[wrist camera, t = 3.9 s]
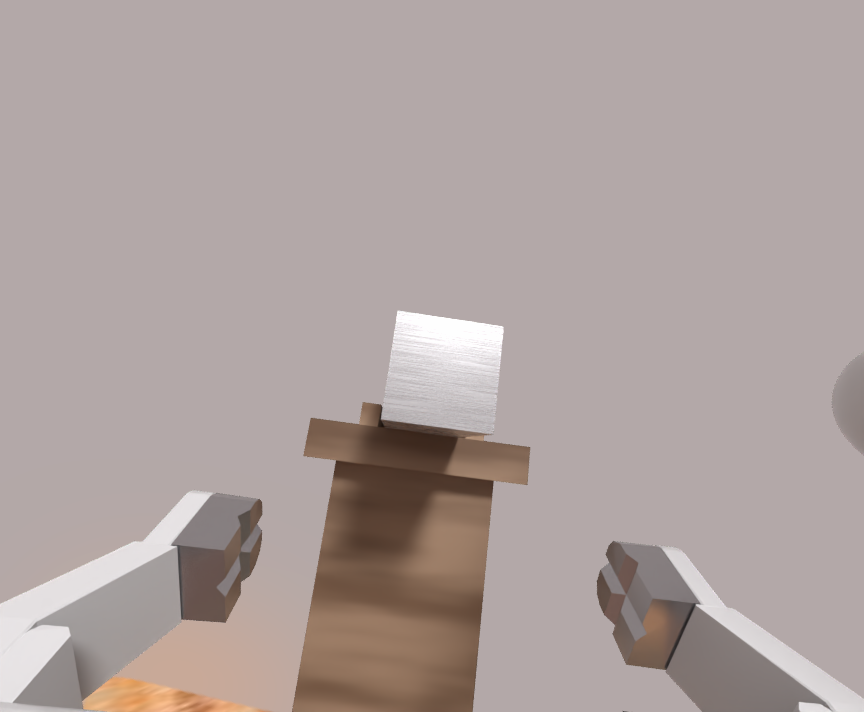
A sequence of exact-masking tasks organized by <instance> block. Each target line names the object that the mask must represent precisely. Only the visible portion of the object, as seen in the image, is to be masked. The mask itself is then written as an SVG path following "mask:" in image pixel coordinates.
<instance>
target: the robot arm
mask: <svg viewBox="0 0 864 712" xmlns="http://www.w3.org/2000/svg"><path fill="white" fill-rule="evenodd" d="M832 408H833V414H834V417H835V420H836V422H837V425H838V427H839V428H840V430H841V432H842V433H843V435H844V436H845V437H846V439H847V440H848V441H849V442H850V443H851V444H852V445H853V446H854V447H855V448H856V449H857V450H858V451H859V452H860V453H862V454H863V455H864V352H863V353H862V354H860V355H859V356H857V357H856V358H855V359H854V360H853V361H851V362H850V363H849V364H848V365H847V366H846V368H845V369H844V370H843V371H842V373H841V375H840V376H839V377H838V379H837V381H836V384H835V387H834V390H833V395H832ZM261 516H262V502H261V500H260V499H255V498H248V497H241V496H234V495H227V494H220V493H210V492H203V491H195V490H193V491H191V492H188V493H187V494H186V495H185V496H184V497H183V498H182V499H181V500H180V501H179V503H178V504H177V505H176V506H175V507H174V508H173V509H172V510H171V511H170V512H169V513H168V514H167V515H166V516H165V518H164V519H163V520H162V521H161V522H160V523H159V524H158V525H157V526H156V528H154V530H153V531H152V532H151V533H150V534H149V535H148V536H147V537H146V538H145V539H144V541H142V542H132V543H130V544H128V545H126V546H124V547H121V548H120V549H117V550H115V551H113V552H111V553H109V554H107V555H104V556H102V557H100V558H98V559H96V560H94V561H91V562H89V563H87V564H85V565H83V566H81V567H79V568H76V569H74V570H72V571H70V572H68V573H66V574H64V575H61V576H59V577H57V578H55V579H53V580H51V581H48V582H46V583H44V584H42V585H40V586H38V587H36V588H33V589H31V590H29V591H27V592H25V593H23V594H21V595H18V596H16V597H14V598H12V599H10V600H8V601H6V602H4V603H1V604H0V712H105V711H94V710H84V709H83V704H82V701H83V700H84V699H85V698H86V697H88V696H89V695H90V694H91V693H93V692H94V691H95V690H97V689H98V688H99V687H100V686H102V685H103V684H104V683H105V682H107V681H108V680H109V679H110V678H112V677H113V676H114V675H115V674H117V673H118V672H119V671H120V670H122V669H123V668H124V667H125V666H127V665H128V664H129V663H131V662H132V661H133V660H134V659H135V658H137V657H138V656H139V655H140V654H142V653H143V652H144V651H146V650H147V649H148V648H149V647H151V646H152V645H153V644H154V643H156V642H157V641H158V640H159V639H161V638H162V637H163V636H165V635H166V634H167V633H168V632H170V631H171V630H172V629H173V628H175V627H176V626H177V625H179V624H180V623H181V619H183V620H196V621H210V622H224V623H225V622H226V621H227V619H228V617H229V614H230V613H231V611H232V609H233V607H234V605H235V603H236V602H237V600H238V598H239V596H240V593H241V581H243V580H245V579H246V578H247V577H249V576H250V575H251V572H252V570H253V568H254V566H255V564H256V561H257V558H258V555H259V552H260V547H261V541H262V530H261V529H260V527H259V526H258V525H257V523H258V521H259V519H260V517H261ZM606 556H607V558H608V560H609V564H608V565H606V566H605V567H603V568H602V569H601V570H600V573H599V577H598V580H597V595H598V599H599V604H600V606H601V609H602V611H603V613H604V615H605V616H606V617H607V618H608V619H609V620H610V621H611V622H612V623H613V624H614V625H615V627H614V631H613V636H614V638H615V641H616V643H617V645H618V647H619V649H620V652H621V654H622V656H623V658H624V661H625V663H626V664H627V665H633V666H641V667H648V668H656V669H663V670H666V673H667V674H668V675H669V676H670V677H671V678H672V679H673V681H674V682H676V684H677V685H678V686H679V687H680V688H681V689H682V690H683V691H684V692H685V693H686V694H687V696H688V697H689V698H690V699H691V700H692V701H693V702H694V703H695V704H696V705H697V706H698V708H699V709H700V710H701V711H702V712H864V699H863V698H862V697H860V696H859V695H857V694H856V693H855V692H853V691H852V690H850V689H849V688H847V687H846V686H844V685H843V684H842V683H840V682H839V681H837V680H836V679H834V678H833V677H831V676H830V675H829V674H827V673H826V672H824V671H823V670H821V669H820V668H818V667H817V666H816V665H814V664H813V663H811V662H810V661H808V660H807V659H805V658H804V657H803V656H801V655H800V654H798V653H797V652H795V651H794V650H792V649H791V648H790V647H788V646H787V645H785V644H784V643H782V642H781V641H779V640H778V639H776V638H775V637H774V636H772V635H771V634H769V633H768V632H766V631H765V630H764V629H762V628H761V627H759V626H758V625H756V624H755V623H753V622H752V621H751V620H749V619H748V618H746V617H745V616H743V615H742V614H741V613H739V612H738V611H736V610H735V609H731V608H726V606H725V605H724V604H723V602H722V601H721V600H720V599H719V597H718V596H717V595H716V593H715V592H714V591H713V590H712V588H711V587H710V586H709V585H708V583H707V582H706V581H705V579H704V578H703V577H702V575H701V574H700V573H699V572H698V570H697V569H696V568H695V566H694V565H693V564H692V563H691V561H690V560H689V559H688V557H687V556H686V555H685V554H684V552H683V551H681V550H680V549H678V548H676V547H668V546H657V545H655V546H652V545H643V544H634V543H624V542H615V541H613V542H612V543H611V544H610V545H609V547H608V549H607V552H606Z"/></svg>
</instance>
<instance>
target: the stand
mask: <svg viewBox="0 0 864 712" xmlns="http://www.w3.org/2000/svg"><path fill="white" fill-rule="evenodd" d="M382 409H383V407H382V406H381V405H379V404H372V403H365V402H363V405H362V411H361V417H360V423H359V424H353V423H345V422H338V421H330V420H323V419H315V418H311V420H310V425H309V430H308V435H307V440H306V446H305V451H304V456H307V457H315V458H323V459H330V460H336V464H335V471H334V476H333V481H332V487H331V493H330V499H329V504H328V510H327V516H326V521H325V527H324V533H323V538H322V544H321V550H320V556H319V561H318V567H317V573H316V579H315V584H314V590H313V595H312V601H311V607H310V612H309V618H308V624H307V630H306V635H305V642H304V647H303V652H302V658H301V664H300V669H299V675H298V682H297V687H296V692H295V698H294V705H293V709H292V712H472V711H473V700H474V689H475V678H476V666H477V656H478V645H479V634H480V624H481V613H482V602H483V591H484V580H485V569H486V558H487V547H488V536H489V525H490V515H491V503H492V492H493V481H501V482H508V483H516V484H524V485H527V482H528V468H529V455H530V447H524V446H516V445H510V444H502V443H495V442H487V441H484V435H483V436H471V437H460V438H457V437H450V436H442V435H435V434H427V433H420V432H413V431H405V430H398V429H390V428H385V426H384V424H383V422H382V420H381V415H382Z"/></svg>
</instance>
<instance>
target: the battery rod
mask: <svg viewBox="0 0 864 712" xmlns="http://www.w3.org/2000/svg"><path fill="white" fill-rule="evenodd" d="M502 339H503V327H501V326H495V325H488V324H481V323H475V322H469V321H462V320H455V319H449V318H442V317H436V316H429V315H422V314H416V313H410V312H403V311H398V313H397V319H396V325H395V332H394V339H393V344H392V351H391V357H390V364H389V371H388V377H387V383H386V389H385V396H384V402H383V409H382V415H381V420H382V422H383V424H384V426H385V428H390V429H398V430H405V431H413V432H420V433H427V434H435V435H442V436H450V437H457V438H460V437H471V436H483V435H493V434H494V424H495V414H496V403H497V391H498V382H499V370H500V359H501V349H502Z"/></svg>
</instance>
